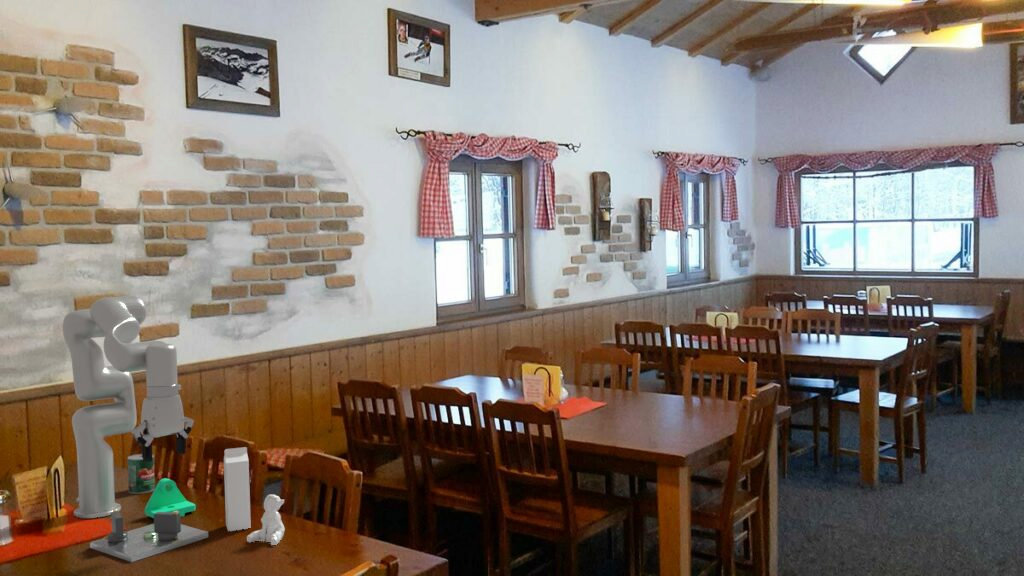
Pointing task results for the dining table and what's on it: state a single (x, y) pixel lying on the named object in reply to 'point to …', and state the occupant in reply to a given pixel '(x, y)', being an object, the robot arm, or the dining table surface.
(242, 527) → the milk
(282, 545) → the dining table surface
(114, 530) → the knob
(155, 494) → the camera mount
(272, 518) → the sitting furry creature
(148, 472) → the canned tomato
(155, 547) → the plate
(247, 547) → the dining table surface
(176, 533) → the knob
